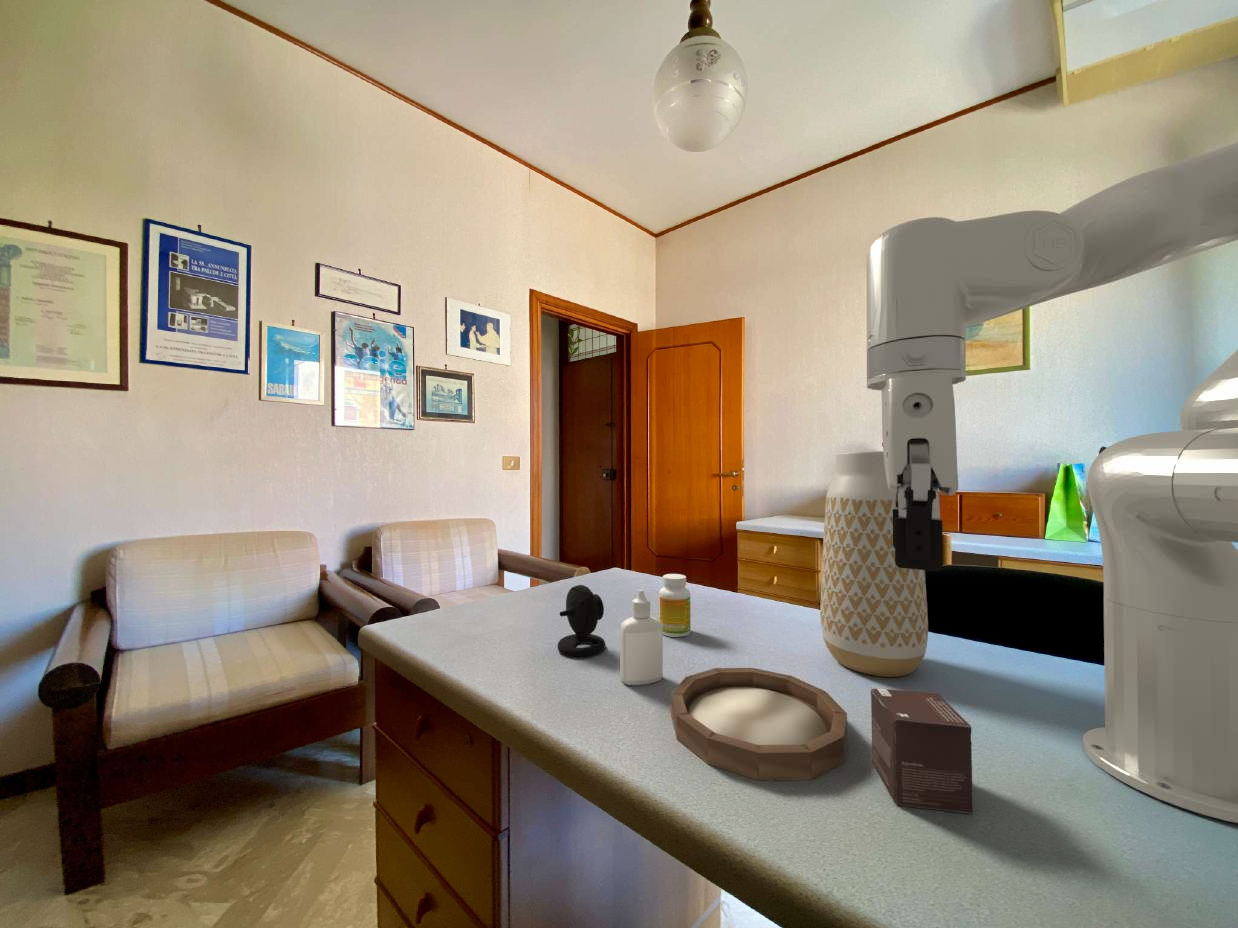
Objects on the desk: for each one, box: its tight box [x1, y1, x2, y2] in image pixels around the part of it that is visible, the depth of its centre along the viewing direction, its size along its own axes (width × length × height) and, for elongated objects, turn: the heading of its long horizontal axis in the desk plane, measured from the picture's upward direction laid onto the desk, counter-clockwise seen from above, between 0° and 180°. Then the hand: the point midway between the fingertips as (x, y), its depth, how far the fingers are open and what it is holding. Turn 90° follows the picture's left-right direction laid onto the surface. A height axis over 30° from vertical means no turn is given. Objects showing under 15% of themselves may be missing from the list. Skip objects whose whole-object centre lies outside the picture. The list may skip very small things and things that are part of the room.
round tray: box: [670, 667, 848, 781], centre depth 52 cm, size 18×18×2 cm
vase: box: [819, 450, 929, 678], centre depth 68 cm, size 14×14×31 cm
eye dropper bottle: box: [619, 589, 664, 686], centre depth 63 cm, size 4×6×12 cm
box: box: [870, 688, 974, 814], centre depth 42 cm, size 6×6×7 cm
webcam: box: [557, 584, 606, 659], centre depth 74 cm, size 8×8×10 cm
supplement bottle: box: [658, 573, 691, 638], centre depth 81 cm, size 5×5×10 cm
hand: (914, 558), depth 42 cm, fingers open, 9 cm apart
